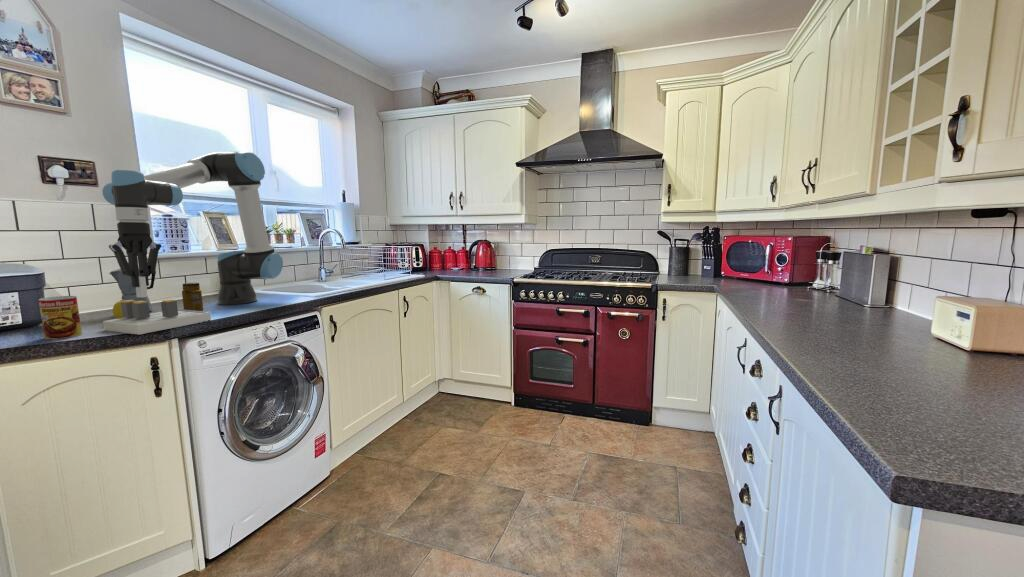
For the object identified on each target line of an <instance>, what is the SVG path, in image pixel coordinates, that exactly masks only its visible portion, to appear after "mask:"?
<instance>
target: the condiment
mask: <svg viewBox="0 0 1024 577" xmlns="http://www.w3.org/2000/svg"><path fill="white" fill-rule="evenodd" d="M200 288H201V287H200V283H199V282H186V283H182V291H181V296H182V304H183V310H193V311H204V303H203V295H202V289H200Z"/></svg>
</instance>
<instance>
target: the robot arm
mask: <svg viewBox="0 0 1024 577" xmlns="http://www.w3.org/2000/svg"><path fill="white" fill-rule="evenodd" d="M265 175H266V169H265V166H264V164H263V161H262V159H261V158H260V157H258V156H257V155H256V154H255V153H254V152H250V151H242V150H240V151H223V152H222V151H217V152H211V153H208V154H204V155H202V156H199V157H196V158H192V159H189V160H188V161H187V162H186V164H182V165H181V164H180V165H178V166H175V167H170V168H167V169H164V170H161V171H157V172H153V173H150V174H147V175H144V173H143V172H141V171H137V170H128V169H117V170H113V171H112V172H111V182H109V183H106V184H105V185H104V186H103V188H102V191H101V192H102V196H103V199H104V200H105V201H106V202H107V203H109V204H110V205H114V209H115V218H116V221H118V222H117V223H116V227H117V233H118V237H117V242H114V243H113V244H109V245H108V248H109V249H110V250H111V251H112V252H113V254H114V256H115V259H116V261H117V263H118V266H119V269H121V271H122V273H123V275H127V276H130V277H131V279H132V286H133V287H136V295H137V297H148V298H149V295H148V289H147V287H149V286H150V282H149V280H150V279H149V277H150V276H151V275H152V274H154V273H155V270H156V269H157V262H158V255H159V251H160V250H161V248H162V243H156V242H154V241H153V238H152V237H151V224H150V223H149V222H148V221H150V219H149V218H150V217H149V216H150V215H149V208H148V206H166V207H167V206H169V207H171V206H178V205H180V204H181V203H182V201H183V199H184V196H183V195H184V194H183V190H182V189H184V188H187V187H189V186H192V185H195V184H197V183H198V184H206V183H211V182H227V184H228V187H229V188H230V189H232V190H233V191H234V192H233V193H234V196H235V197H234V198H235V200H236V205H237V209H238V214H239V219H240V222H241V227H242V232H243V237H244V241H245V246H246V247H245V248H244V249H240V250H239V249H237V250H229V251H228V250H227V251H223V252H220V253H218V254H217V261H216V262H217V269H218V278H219V290H218V294H217V298H216V302H217V303H216V304H217V305H222V306H223V305H226V306H228V305H241V304H248V303H254V302H257V301H258V298H257V297H258V296H257V293H256V292H255V289H254V288H253V286H252V282H251V281H252V280H273V279H276V278H278V277H279V276H280V275H281V274H282V271H283V268H284V262H283V261H284V260H283V257H282V256H281V254H280V253H277V252H276V251H275V247H274V246H273V245H271V244H270V242H269V238H268V232H267V228H266V227H267V226H266V223H265V217H264V213H263V209H262V208H263V207H262V203H261V198H260V193H259V188H260V186H261V185H262V183H261V181H262V180H264V178H265ZM148 249H149V252H148ZM123 250H125V251H126V255H127V258H126V255H125V252H124V251H123ZM147 255H148V256H147ZM128 263H129V264H128ZM138 267H139V268H138ZM156 271H157V270H156ZM139 272H140V275H141V276H139ZM147 295H148V296H147Z"/></svg>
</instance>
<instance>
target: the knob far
mask: <svg viewBox="0 0 1024 577" xmlns="http://www.w3.org/2000/svg"><path fill="white" fill-rule="evenodd" d="M133 302H136V301H135V300H125V301H122V302H121V308H122V315H123V317H125V318H130V317H134V316H133V309H132V303H133Z"/></svg>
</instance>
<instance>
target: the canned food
mask: <svg viewBox="0 0 1024 577" xmlns="http://www.w3.org/2000/svg"><path fill="white" fill-rule="evenodd" d="M37 301H38V308H39V313H40V318H41V324H42V329H43V335H44V336H43V337H44V340H47V339H53V340H58V339H57V338H64V339H69V338H68V337H70V338H75V337H79V336H81V334H83V331H82V324H81V317H80V311H79V305H78V298H77V296H76V295H62V296H61V295H60V296H48V297H41V298H39V299H38V300H37ZM78 335H79V336H78ZM74 336H75V337H74Z"/></svg>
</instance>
